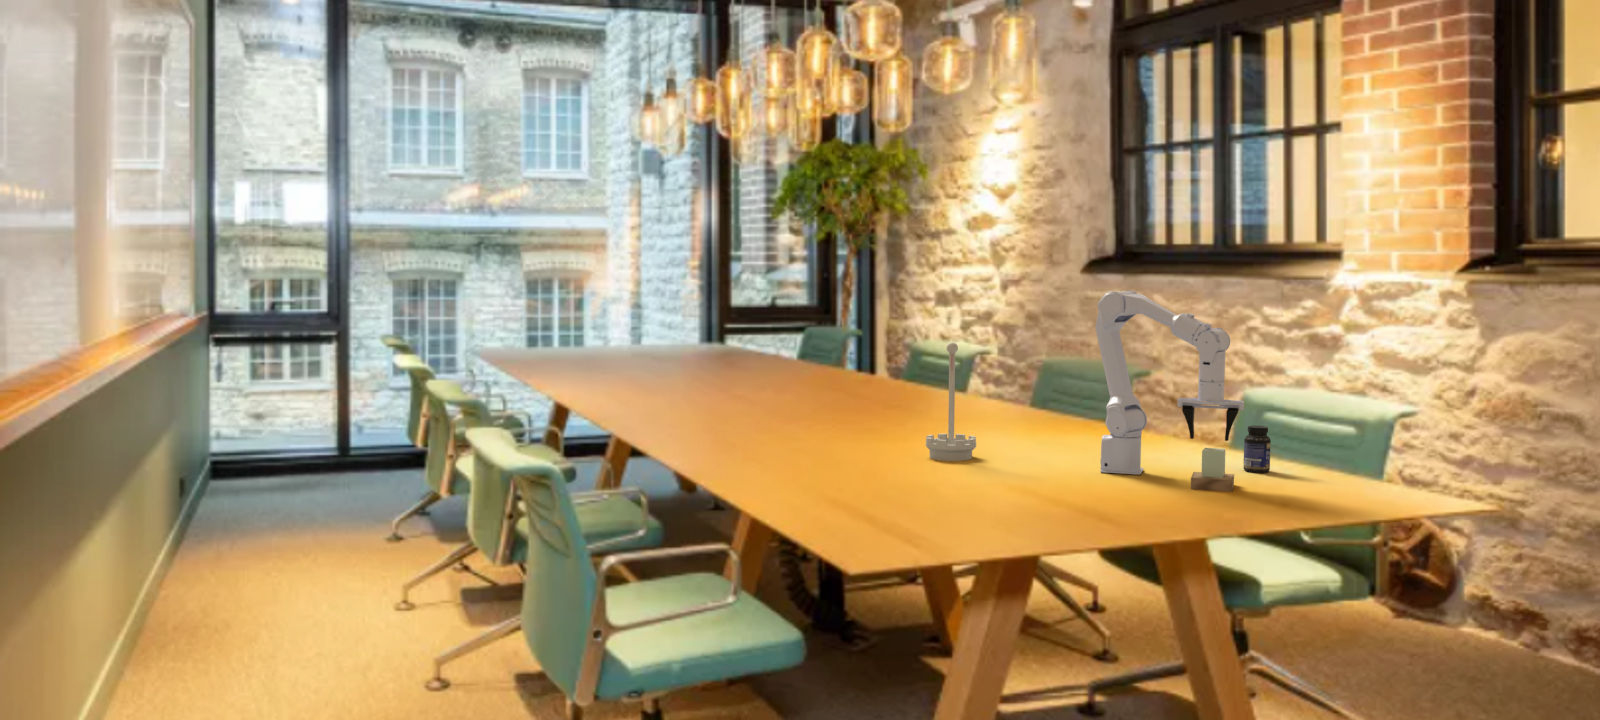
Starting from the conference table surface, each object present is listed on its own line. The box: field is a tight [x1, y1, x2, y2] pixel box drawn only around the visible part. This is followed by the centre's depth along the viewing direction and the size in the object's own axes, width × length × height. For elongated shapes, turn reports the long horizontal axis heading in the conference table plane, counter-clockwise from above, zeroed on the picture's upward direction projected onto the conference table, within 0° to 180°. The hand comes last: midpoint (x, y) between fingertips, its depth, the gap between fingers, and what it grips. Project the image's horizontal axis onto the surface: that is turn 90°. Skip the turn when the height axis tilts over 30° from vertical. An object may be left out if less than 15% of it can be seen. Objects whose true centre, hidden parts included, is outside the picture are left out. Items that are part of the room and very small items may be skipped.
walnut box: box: [1190, 471, 1235, 493], centre depth 298 cm, size 9×9×3 cm
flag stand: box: [925, 342, 977, 462], centre depth 337 cm, size 13×13×30 cm
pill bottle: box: [1243, 424, 1272, 474], centre depth 319 cm, size 6×6×11 cm
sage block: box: [1201, 447, 1226, 478], centre depth 297 cm, size 4×4×6 cm
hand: (1209, 439), depth 302 cm, fingers open, 7 cm apart
